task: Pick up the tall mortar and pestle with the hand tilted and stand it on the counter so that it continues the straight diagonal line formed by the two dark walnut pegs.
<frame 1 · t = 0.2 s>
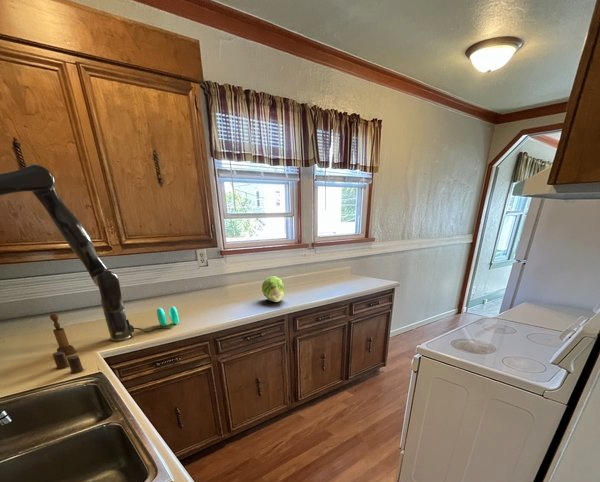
lettuce: (274, 301, 240), on the worktop
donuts: (169, 325, 187), on the worktop
far peg: (77, 371, 130), on the worktop
middle peg: (63, 366, 134), on the worktop
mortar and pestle: (66, 353, 148), on the worktop
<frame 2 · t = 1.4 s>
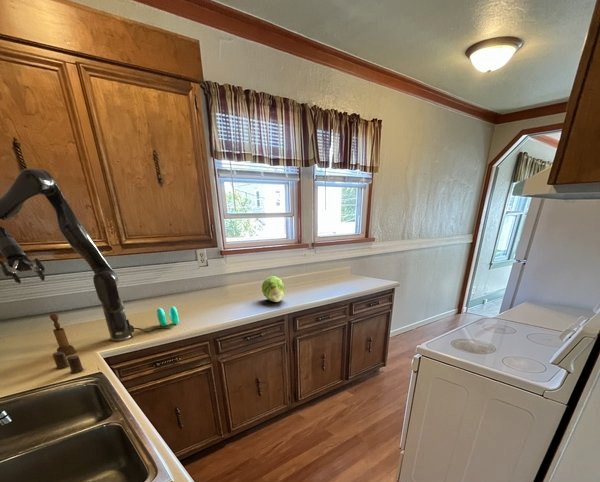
hand: (31, 280, 140), 31 cm above the worktop, tool tilted 45°, fingers open, 8 cm apart
nothing on the worktop moved.
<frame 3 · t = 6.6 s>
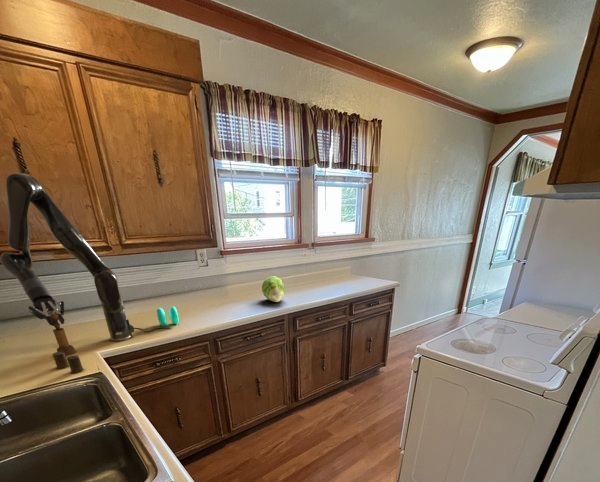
hand: (58, 323, 140), 14 cm above the worktop, tool tilted 45°, fingers closed on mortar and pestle, 3 cm apart
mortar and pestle: (66, 353, 148), on the worktop, touching gripper
everything else where it was.
when the fingers open (14 cm above the worktop, at t = 14.8 s): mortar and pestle stays where it is, on the worktop.
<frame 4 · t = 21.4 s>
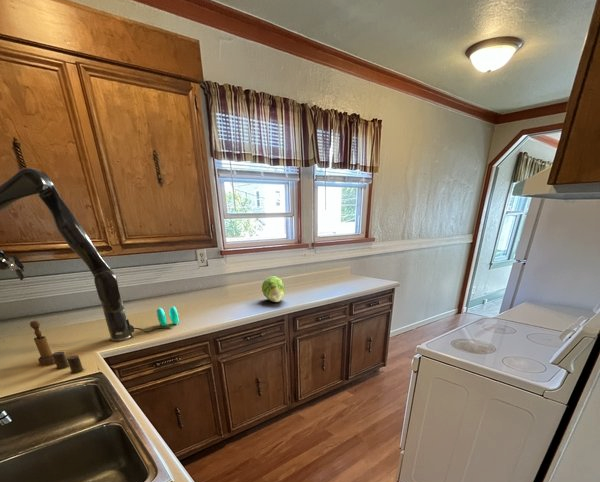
hand: (9, 280, 129), 33 cm above the worktop, tool tilted 45°, fingers open, 8 cm apart
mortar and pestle: (49, 363, 138), on the worktop
everything else where it was.
at the end: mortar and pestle 0.2 cm from the target spot, on the worktop; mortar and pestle tilted 0°; the gripper is holding nothing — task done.
